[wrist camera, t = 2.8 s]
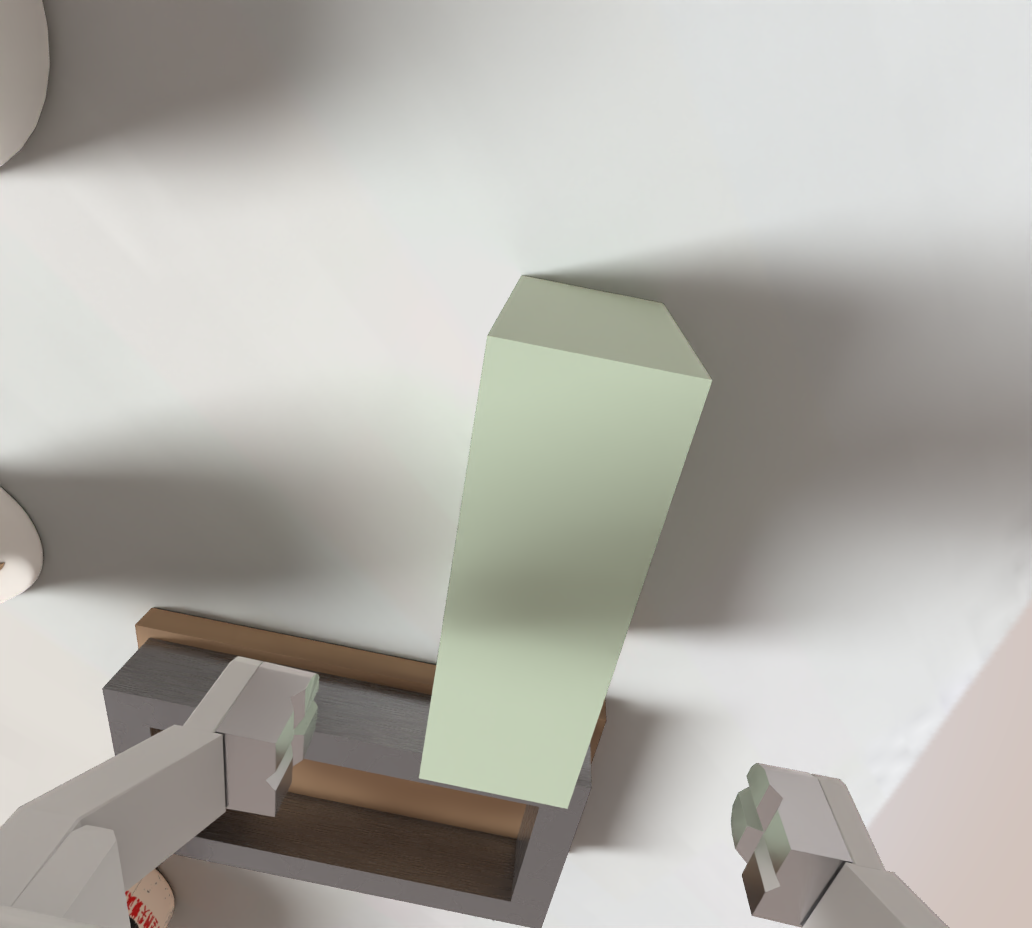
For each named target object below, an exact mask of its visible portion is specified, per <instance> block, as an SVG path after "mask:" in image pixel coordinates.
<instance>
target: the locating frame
mask: <svg viewBox="0 0 1032 928" xmlns="http://www.w3.org/2000/svg"><path fill="white" fill-rule="evenodd" d="M135 628H136V635H137V642H138V650H137V652H136V653H135V654H134V655H133V656H132V657H131V658H130V659H129V660H128V661H127V662H126V663H125V665H124V666H123V667H122V668H121V669H120V670H119V671H118V672H117V673H116V674H115V675H114V676H113V677H112V679H111V680H110V681H109V682H108V683H107V684H106V685H105V686H104V687H103V688H102V689H103V695H104V700H105V705H106V710H107V716H108V721H109V726H110V731H111V737H112V742H113V747H114V752H115V756H116V755H118V754H120V753H122V752H124V751H126V750H127V749H129V748H131V747H133V746H135V745H137V744H139V743H141V742H142V741H144V740H146V739H148V738H150V737H152V736H154V735H156V734H157V733H159V732H161V731H163V730H165V729H167V728H169V727H171V726H173V725H174V724H175V725H180V726H183V725H184V723H185V722H186V721H187V719H188V718H189V717H190V715H191V714H192V713H193V711H194V710H195V709H196V707H197V706H198V705H199V703H200V702H201V701H202V699H203V698H204V697H205V695H206V694H207V692H208V691H209V690H210V688H211V687H212V686H213V684H214V683H215V682H216V680H217V679H218V678H219V676H220V675H221V674H222V672H223V671H224V670H225V668H226V667H227V666H228V664H229V663H230V662H231V661H232V660H234V659H235V658H236V657H238V656H241V657H245V658H250V659H254V660H258V661H263V662H269V663H273V664H277V665H282V666H286V667H290V668H295V669H299V670H303V671H308V672H312V673H316V674H318V675H319V689H318V691H317V693H316V695H315V697H314V699H313V700H314V702H315V703H316V704H317V706H318V714H317V721H316V726H315V730H314V733H313V736H312V739H311V742H310V745H309V748H308V750H307V752H306V754H305V756H304V758H303V760H302V761H300V762H299V763H297V764H296V765H294V766H293V771H292V783H291V785H290V787H289V789H288V791H287V794H286V796H285V798H284V800H283V802H282V804H281V806H280V808H279V810H278V812H277V814H276V816H275V817H272V816H266V815H260V814H255V813H249V812H243V811H238V810H232V809H226V812H225V813H224V814H222V815H221V816H220V817H219V818H217V819H216V820H215V821H214V822H212V823H211V824H210V825H209V826H207V827H206V828H205V829H204V830H202V831H201V832H200V833H199V834H197V835H196V836H195V837H194V838H192V839H191V840H190V841H189V842H187V843H186V844H185V845H184V846H182V847H181V848H180V849H179V850H177V851H176V852H175V853H174V854H176V855H181V856H186V857H191V858H195V859H200V860H205V861H210V862H215V863H220V864H225V865H229V866H234V867H239V868H244V869H249V870H254V871H259V872H263V873H268V874H273V875H278V876H283V877H288V878H293V879H297V880H302V881H307V882H312V883H317V884H322V885H327V886H331V887H336V888H341V889H346V890H351V891H356V892H361V893H365V894H370V895H375V896H380V897H385V898H390V899H394V900H399V901H404V902H409V903H414V904H419V905H424V906H428V907H433V908H438V909H443V910H448V911H453V912H458V913H462V914H467V915H472V916H477V917H482V918H487V919H492V920H496V921H501V922H506V923H511V924H516V925H521V926H526V927H530V928H542V925H543V922H544V919H545V916H546V914H547V911H548V908H549V905H550V902H551V900H552V897H553V894H554V891H555V888H556V886H557V883H558V880H559V877H560V874H561V872H562V869H563V866H564V863H565V860H566V858H567V855H568V852H569V849H570V846H571V844H572V841H573V838H574V835H575V832H576V829H577V827H578V824H579V821H580V818H581V815H582V813H583V810H584V807H585V804H586V801H587V799H588V796H589V793H590V790H591V763H592V760H593V757H594V754H595V752H596V749H597V746H598V743H599V740H600V737H601V734H602V731H603V729H604V726H605V723H606V705H605V699H604V702H603V705H602V708H601V711H600V714H599V717H598V720H597V723H596V726H595V729H594V732H593V735H592V738H591V741H590V744H589V747H588V750H587V753H586V756H585V759H584V761H583V764H582V767H581V770H580V773H579V776H578V779H577V782H576V785H575V788H574V791H573V794H572V797H571V800H570V803H569V806H568V809H566V808H561V807H556V806H551V805H546V804H541V803H536V802H532V801H527V800H522V799H517V798H512V797H507V796H502V795H498V794H493V793H488V792H483V791H478V790H473V789H468V788H463V787H459V786H454V785H449V784H444V783H439V782H434V781H429V780H425V779H420V778H419V774H420V767H421V761H422V755H423V748H424V742H425V735H426V729H427V722H428V716H429V709H430V703H431V696H432V690H433V683H434V677H435V671H436V665H433V664H428V663H423V662H418V661H413V660H408V659H403V658H398V657H393V656H388V655H383V654H378V653H373V652H368V651H364V650H359V649H354V648H349V647H344V646H339V645H334V644H329V643H324V642H319V641H314V640H309V639H304V638H299V637H294V636H290V635H285V634H280V633H275V632H270V631H265V630H260V629H255V628H250V627H245V626H240V625H235V624H230V623H225V622H220V621H216V620H211V619H206V618H201V617H196V616H191V615H186V614H181V613H176V612H171V611H166V610H161V609H156V608H151V609H150V610H149V611H148V612H147V613H146V614H145V615H144V616H143V617H142V618H141V619H140V620H139V621H138V622H137V623H136V624H135Z"/></svg>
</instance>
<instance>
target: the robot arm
mask: <svg viewBox="0 0 1032 928" xmlns="http://www.w3.org/2000/svg"><path fill="white" fill-rule="evenodd" d="M318 689H319V675H318V674H316V673H312V672H308V671H303V670H299V669H295V668H290V667H286V666H282V665H277V664H273V663H269V662H263V661H258V660H254V659H250V658H245V657H241V656H238V657H236V658H235V659H234V660H232V661H231V662H230V663H229V664H228V666H227V667H226V668H225V670H224V671H223V672H222V674H221V675H220V676H219V678H218V679H217V680H216V682H215V683H214V684H213V686H212V687H211V688H210V690H209V691H208V692H207V694H206V695H205V697H204V698H203V699H202V701H201V702H200V703H199V705H198V706H197V707H196V709H195V710H194V711H193V713H192V714H191V715H190V717H189V718H188V719H187V721H186V722H185V723H184V725H183V726H180V725H175V724H174V725H173V726H171V727H169V728H167V729H165V730H163V731H161V732H159V733H157V734H156V735H154V736H152V737H150V738H148V739H146V740H144V741H142V742H141V743H139V744H137V745H135V746H133V747H131V748H129V749H127V750H126V751H124V752H122V753H120V754H118V755H116V756H114V757H112V758H111V759H109V760H107V761H105V762H103V763H101V764H99V765H97V766H96V767H94V768H92V769H90V770H88V771H86V772H84V773H82V774H80V775H79V776H77V777H75V778H73V779H71V780H69V781H67V782H65V783H64V784H62V785H60V786H58V787H56V788H54V789H52V790H50V791H49V792H47V793H45V794H43V795H41V796H39V797H37V798H35V799H34V800H32V801H30V802H28V803H26V804H24V805H22V806H20V807H19V808H18V809H17V810H16V811H15V812H14V813H13V814H12V815H11V817H10V818H9V819H8V820H7V821H6V822H5V823H4V824H3V825H2V826H1V828H0V928H131V926H130V920H129V913H128V907H127V901H126V895H125V892H126V891H127V890H128V889H130V888H131V887H132V886H133V885H135V884H136V883H137V882H139V881H140V880H141V879H142V878H144V877H145V876H146V875H147V874H149V873H150V872H151V871H152V870H154V869H155V868H156V867H157V866H159V865H160V864H161V863H162V862H164V861H165V860H166V859H167V858H169V857H170V856H171V855H172V854H174V853H175V852H176V851H177V850H179V849H180V848H181V847H182V846H184V845H185V844H186V843H187V842H189V841H190V840H191V839H192V838H194V837H195V836H196V835H197V834H199V833H200V832H201V831H202V830H204V829H205V828H206V827H207V826H209V825H210V824H211V823H212V822H214V821H215V820H216V819H217V818H219V817H220V816H221V815H222V814H224V813H225V812H226V809H232V810H238V811H243V812H249V813H255V814H260V815H266V816H272V817H275V816H276V814H277V812H278V810H279V808H280V806H281V804H282V802H283V800H284V798H285V796H286V794H287V791H288V789H289V787H290V785H291V783H292V771H293V766H294V765H296V764H297V763H299V762H300V761H302V760H303V758H304V756H305V754H306V752H307V750H308V748H309V745H310V742H311V739H312V736H313V733H314V730H315V726H316V721H317V714H318V706H317V704H316V703H315V702H314V700H313V699H314V697H315V695H316V693H317V691H318ZM747 779H748V783H749V786H750V787H748V788H746V789H744V790H742V791H740V792H738V795H737V797H736V799H735V801H734V804H733V808H732V817H731V827H732V836H733V840H734V845H735V849H736V850H737V851H738V853H739V854H740V855H741V856H742V858H743V859H744V860H745V861H746V863H747V865H746V867H745V869H744V871H743V873H742V878H743V882H744V886H745V890H746V894H747V898H748V902H749V906H750V910H751V914H752V916H756V917H760V918H764V919H768V920H773V921H777V922H781V923H785V924H789V925H794V926H798V927H802V928H949V927H948V926H947V925H946V924H945V923H944V922H943V921H942V920H941V919H940V918H939V917H938V916H937V915H936V914H935V913H934V912H933V911H932V910H931V909H930V908H929V907H928V906H927V905H926V904H925V903H924V902H923V901H922V900H921V899H920V898H919V897H918V896H917V895H916V894H915V893H914V892H913V891H912V890H911V889H910V888H909V887H908V886H907V885H906V884H905V883H904V882H903V881H902V880H901V879H900V878H899V877H898V876H897V875H896V874H895V873H894V872H890V871H886V870H885V868H884V866H883V864H882V862H881V860H880V857H879V855H878V853H877V851H876V849H875V847H874V844H873V842H872V840H871V838H870V836H869V834H868V831H867V829H866V827H865V825H864V823H863V821H862V819H861V816H860V814H859V812H858V810H857V808H856V806H855V803H854V801H853V799H852V797H851V795H850V793H849V791H848V788H847V786H846V785H845V784H844V783H843V782H842V781H841V780H840V779H837V778H832V777H826V776H821V775H816V774H810V773H808V772H802V771H797V770H792V769H787V768H781V767H776V766H771V765H766V764H761V763H756V764H755V765H753V766H752V767H751V769H750V771H749V773H748V774H747Z"/></svg>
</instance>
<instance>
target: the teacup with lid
mask: <svg viewBox="0 0 1032 928" xmlns="http://www.w3.org/2000/svg"><path fill="white" fill-rule="evenodd" d="M125 895H126V901H127V907H128V913H129V920H130V926H131V928H166V927H167V925H168V923H169V922H170V920H171V917H172V915H173V912H174V905H175V903H174V896H173V893H172V890H171V888H170V886H169V884H168V883H167V881H166V880H165V879H164V877H163V876H162V875H161V874H160V873H159V872H158V871H157V870H156V869H154V870H152V871H151V872H150V873H149V874H147V875H146V876H145V877H144V878H142V879H141V880H140V881H139V882H137V883H136V884H135V885H133V886H132V887H131V888H130V889H128V890H127V891H126V892H125Z"/></svg>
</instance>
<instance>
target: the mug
mask: <svg viewBox="0 0 1032 928" xmlns="http://www.w3.org/2000/svg"><path fill="white" fill-rule="evenodd" d="M49 68H50V58H49V41H48V26H47V21H46V16H45V12H44V7H43V2H42V0H0V166H2V165H3V164H4V163H6V162H7V161H8V160H9V159H10V158H11V157H13V156H14V155H15V154H16V153H17V152H18V151H20V150H21V149H22V147H23V146H24V144H25V143H26V141H27V140H28V138H29V137H30V135H31V133H32V132H33V130H34V129H35V127H36V125H37V122H38V119H39V117H40V114H41V111H42V108H43V105H44V102H45V99H46V92H47V84H48V76H49Z"/></svg>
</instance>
